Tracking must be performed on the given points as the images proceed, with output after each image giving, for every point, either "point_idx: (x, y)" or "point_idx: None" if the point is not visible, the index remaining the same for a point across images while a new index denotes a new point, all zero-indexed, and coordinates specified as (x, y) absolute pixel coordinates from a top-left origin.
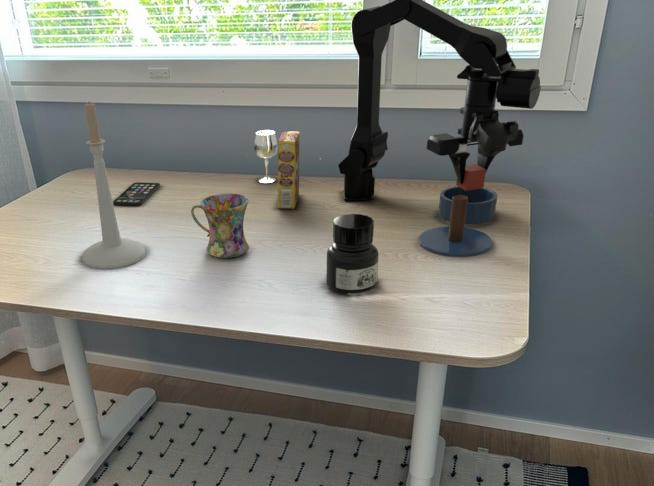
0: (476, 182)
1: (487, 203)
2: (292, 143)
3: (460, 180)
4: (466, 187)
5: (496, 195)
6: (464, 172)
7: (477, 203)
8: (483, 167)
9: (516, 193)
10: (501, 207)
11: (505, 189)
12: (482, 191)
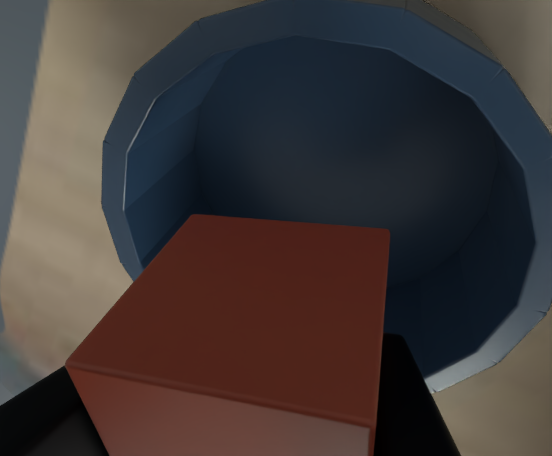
0: (252, 263)
1: (249, 5)
2: None
3: (415, 370)
4: (388, 250)
5: (112, 139)
6: (390, 449)
7: (366, 6)
8: (79, 417)
9: (17, 296)
10: None
11: (47, 340)
12: None
